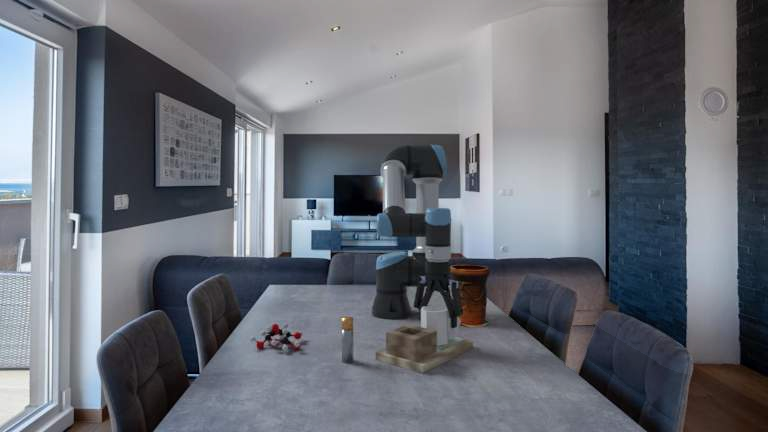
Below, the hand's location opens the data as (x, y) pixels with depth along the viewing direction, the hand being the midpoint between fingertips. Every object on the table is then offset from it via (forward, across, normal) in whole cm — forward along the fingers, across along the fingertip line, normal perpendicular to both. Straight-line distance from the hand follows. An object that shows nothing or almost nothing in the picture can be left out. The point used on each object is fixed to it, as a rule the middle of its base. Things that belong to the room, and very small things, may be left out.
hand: (437, 335), depth 138 cm
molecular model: (+4, -38, -29) cm, 47 cm away
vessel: (+4, -7, +31) cm, 32 cm away
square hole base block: (+4, 0, -6) cm, 7 cm away
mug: (+2, +1, 0) cm, 2 cm away
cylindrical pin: (+4, -13, -25) cm, 28 cm away
